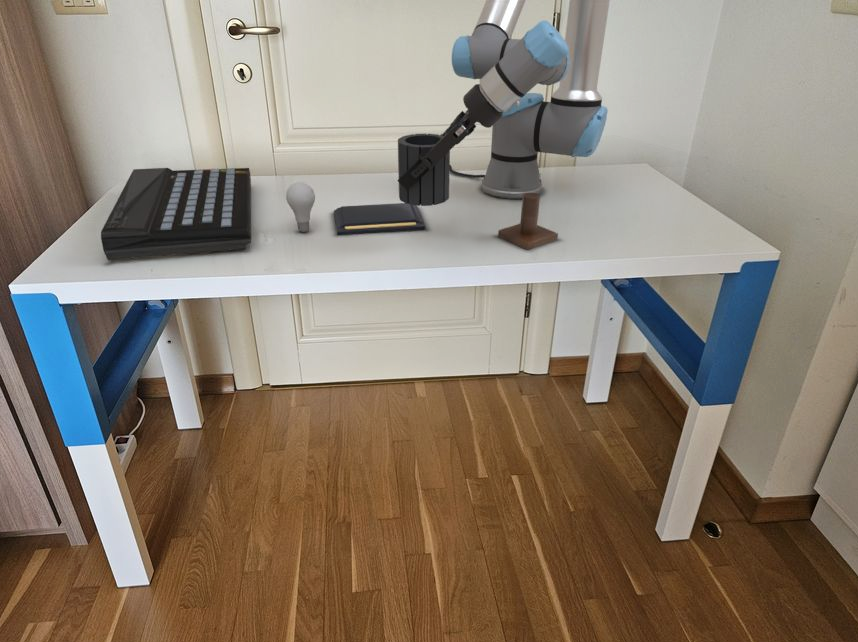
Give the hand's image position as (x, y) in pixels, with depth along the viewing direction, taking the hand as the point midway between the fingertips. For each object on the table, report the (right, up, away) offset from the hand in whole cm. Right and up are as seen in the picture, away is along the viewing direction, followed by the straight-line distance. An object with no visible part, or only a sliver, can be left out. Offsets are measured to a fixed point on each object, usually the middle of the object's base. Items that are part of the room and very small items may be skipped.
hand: (409, 176), depth 131 cm
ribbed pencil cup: (+3, -4, +2) cm, 5 cm away
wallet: (-7, -5, +18) cm, 21 cm away
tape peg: (+25, -11, +9) cm, 29 cm away
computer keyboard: (-51, -5, +19) cm, 54 cm away
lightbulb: (-23, -9, +13) cm, 28 cm away
